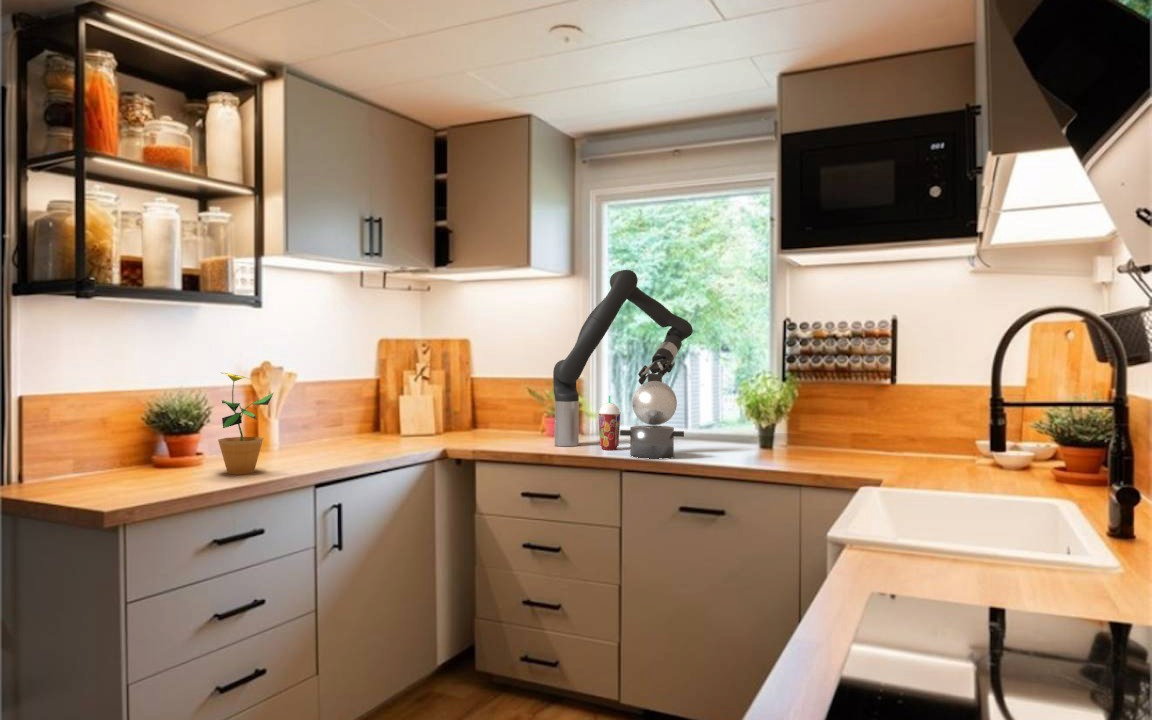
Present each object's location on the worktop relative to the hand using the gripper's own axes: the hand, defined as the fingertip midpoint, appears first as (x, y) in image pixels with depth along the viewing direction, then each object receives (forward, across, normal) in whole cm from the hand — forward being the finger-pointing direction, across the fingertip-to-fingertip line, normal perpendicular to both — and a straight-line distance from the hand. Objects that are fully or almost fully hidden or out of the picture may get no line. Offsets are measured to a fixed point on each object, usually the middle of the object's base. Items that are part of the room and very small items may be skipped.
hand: (649, 380), depth 289 cm
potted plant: (+113, -58, -66) cm, 143 cm away
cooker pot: (+30, +8, +12) cm, 34 cm away
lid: (+11, +7, +2) cm, 13 cm away
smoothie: (+24, -14, +11) cm, 30 cm away
